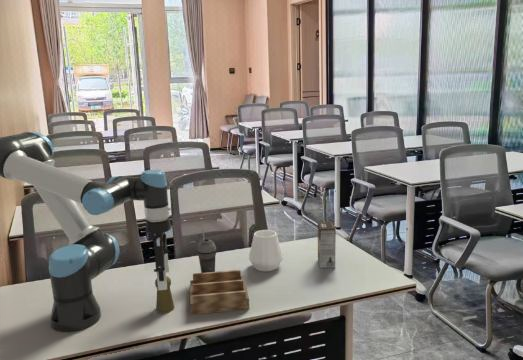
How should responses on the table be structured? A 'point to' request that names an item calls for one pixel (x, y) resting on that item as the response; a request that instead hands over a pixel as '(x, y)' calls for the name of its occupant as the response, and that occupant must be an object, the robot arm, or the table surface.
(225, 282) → the rack
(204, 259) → the beverage cup
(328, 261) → the coffee box
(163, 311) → the olive green pawn
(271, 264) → the cup
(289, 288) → the table surface
